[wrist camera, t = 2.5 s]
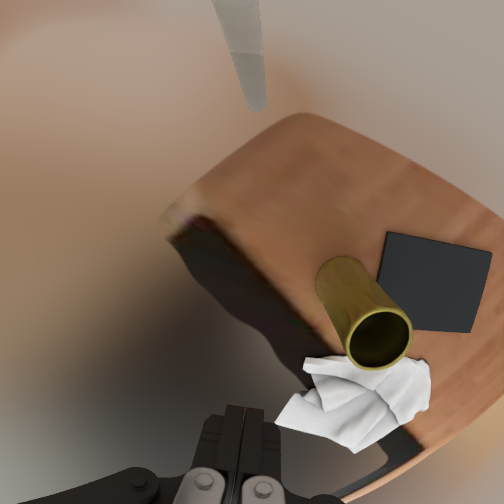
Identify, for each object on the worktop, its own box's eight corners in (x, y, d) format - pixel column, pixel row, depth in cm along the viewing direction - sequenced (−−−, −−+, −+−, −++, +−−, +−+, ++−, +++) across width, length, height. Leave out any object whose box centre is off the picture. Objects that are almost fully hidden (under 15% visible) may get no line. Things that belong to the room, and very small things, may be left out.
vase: (370, 302, 35) (418, 365, 21) (319, 313, 36) (342, 385, 22) (364, 251, 34) (418, 292, 20) (311, 262, 34) (335, 311, 21)
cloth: (443, 401, 37) (449, 410, 35) (318, 469, 41) (319, 479, 39) (397, 299, 35) (405, 306, 32) (244, 388, 38) (242, 400, 36)
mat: (386, 231, 33) (388, 232, 33) (490, 252, 33) (492, 253, 32) (365, 323, 36) (366, 325, 35) (468, 331, 35) (470, 333, 34)
